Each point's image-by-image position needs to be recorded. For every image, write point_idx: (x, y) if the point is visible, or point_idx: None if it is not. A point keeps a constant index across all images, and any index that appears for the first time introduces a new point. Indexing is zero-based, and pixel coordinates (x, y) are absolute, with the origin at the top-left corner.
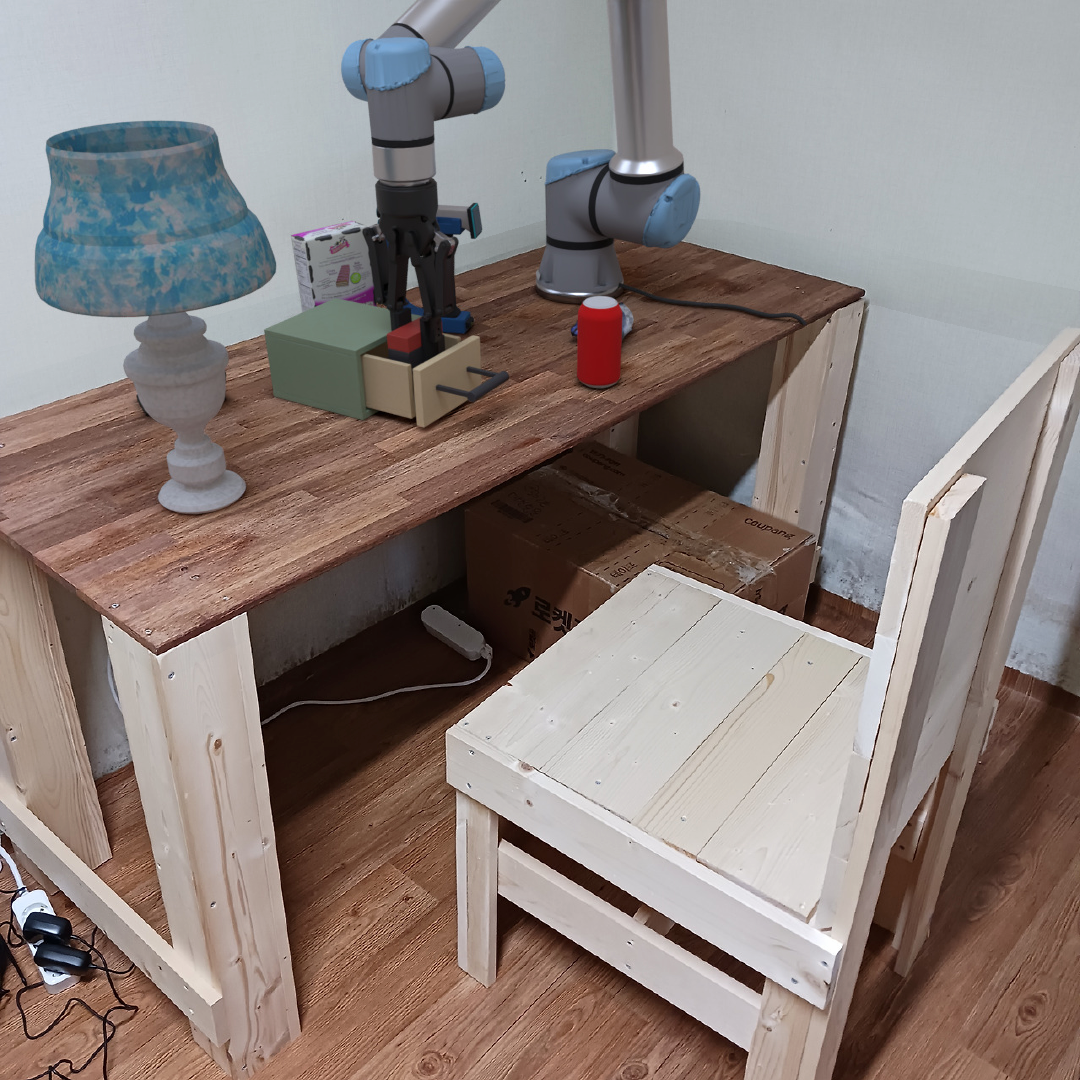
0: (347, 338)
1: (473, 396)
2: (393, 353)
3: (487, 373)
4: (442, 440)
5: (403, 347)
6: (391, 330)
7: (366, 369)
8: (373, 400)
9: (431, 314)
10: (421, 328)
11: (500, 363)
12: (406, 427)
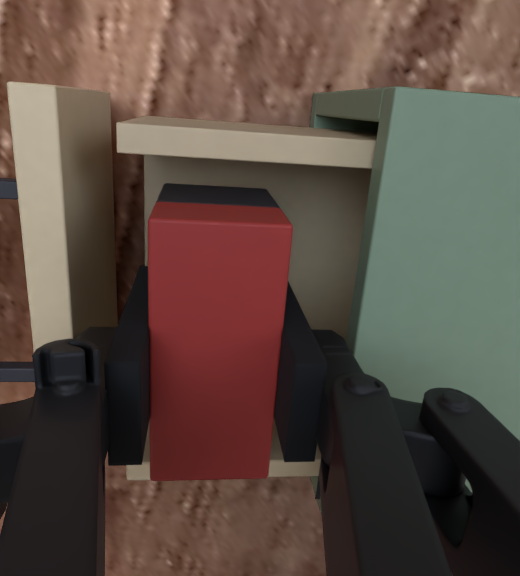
0: (504, 207)
1: None
2: (246, 201)
3: None
4: (10, 78)
5: (184, 207)
6: (366, 369)
7: (344, 135)
8: (298, 127)
9: (37, 390)
10: (137, 335)
11: (183, 540)
12: (167, 111)
